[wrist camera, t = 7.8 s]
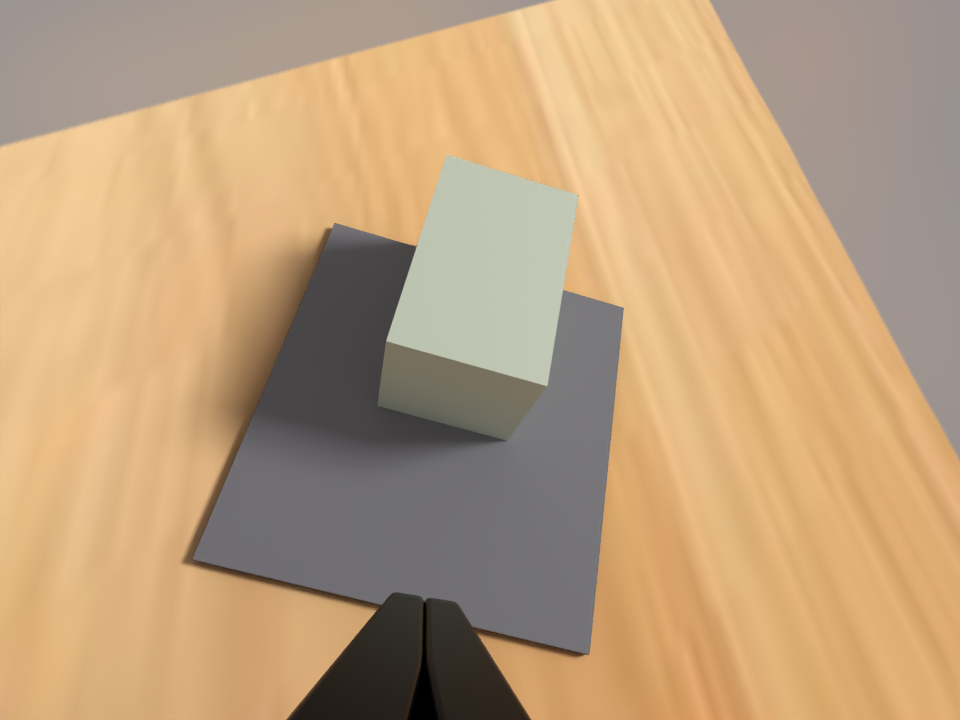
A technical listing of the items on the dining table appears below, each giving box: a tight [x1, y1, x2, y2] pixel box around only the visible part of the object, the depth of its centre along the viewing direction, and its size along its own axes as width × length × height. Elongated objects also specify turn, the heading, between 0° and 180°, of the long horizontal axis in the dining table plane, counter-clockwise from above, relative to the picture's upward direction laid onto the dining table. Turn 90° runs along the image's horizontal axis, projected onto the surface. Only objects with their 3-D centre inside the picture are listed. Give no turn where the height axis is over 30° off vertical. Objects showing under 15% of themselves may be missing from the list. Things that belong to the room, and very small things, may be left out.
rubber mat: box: [193, 223, 624, 655], centre depth 23 cm, size 14×13×1 cm
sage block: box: [377, 155, 578, 441], centre depth 22 cm, size 5×5×8 cm
